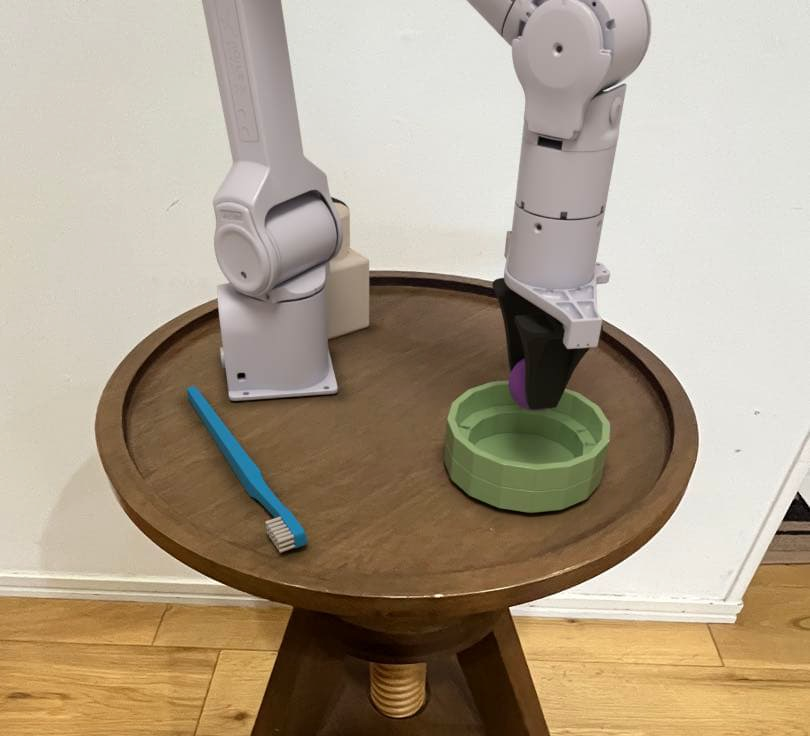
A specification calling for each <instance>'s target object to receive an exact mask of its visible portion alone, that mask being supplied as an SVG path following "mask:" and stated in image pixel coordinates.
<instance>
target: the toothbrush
mask: <svg viewBox="0 0 810 736" xmlns="http://www.w3.org/2000/svg"><path fill="white" fill-rule="evenodd" d="M186 393H187V394H186V395H187V398H188V401H189V402H190V404H191V405H192V407H193V409H194V410H195V412H196V413H197V415H198V417H199V418H200V421H202V423H203V425H204V426H205V428H206V429H207V431H208V433H209V434H210V436H211V437H212V439H213V441H214V442H215V444H216V446H217V447H218V449H219V451H220V452H221V453H222V455H223V456H224V458H225V460H226V461H227V463H228V465H229V466H230V468H231V469H232V471H233V473H234V474H235V476H236V477H237V479H238V480H239V482H240V483H241V485H242V488H244V490H245V492H246V493H247V494H248V496H249V497H250V498H252V499H255V500H256V501H258V502H259V503H260V504H261V505H262V506H263V507H264V508H265V509H266V510H267V512H269V513H270V515H271V516H272V517H273V518H272V519H268V520H265V521H264V524H265V530H266V531H265V532H266V534H267V536H268V537H269V539H270V540H271V542H272V543H273V545H274V547H275V548H276V549H277V550H278V553H279V554H281V553H284V552H287V551H289V550H292V549H294V548H295V549H298V548H301V547H305V546H306V545H307V544H308V540H307V539H308V538H307V533H306V531H305V529H304V528H303V526H302V525H301V523H300V522H299V520H298V519H297V518H296V516H295V515H294V514H293V513H292V512H291V510H290V509H288V508H287V507H286V506H285V505H284V504H283V503H282V502H281V501H280V499H279V498H278V497H277V496H276V495H275V494H274V492H273V491H272V490H271V488H270V487H269V485H268V484H267V483H266V480H264V478H263V473H262V471H261V469H260V468H259V466H258V465H256V463H255V462H254V461H253V460H252V458H251V457H250V456H249V455H248V453H247V452H246V451H245V449H244V448H243V447H242V446H241V444H240V443H239V442H238V440H237V438H235V436H234V435H233V434H232V432H231V431H230V430H229V429H228V427H227V426H226V424H225V423H224V422H223V421H222V419H221V418H220V417H219V415H218V413H216V411H215V410H214V408H213V407H212V406H211V405H210V403H209V402H208V401H207V399H206V398H205V397H204V395H203V394H202V393H201V391H200V390H199V389H198V388H197V386H196V385H193V386H188V387H186Z"/></svg>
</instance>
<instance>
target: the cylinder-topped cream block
mask: <svg viewBox="0 0 810 736" xmlns="http://www.w3.org/2000/svg"><path fill="white" fill-rule="evenodd" d="M331 199H332V201H333V204H334V205H335V207H336V209H337V211H338V213H339V216H340V219H341V223H342V227H343V242H342V246H341V249H340V251H339V253H338V254H337V255H336V257H335V258H334V259H332V260H331V261H330V274H329V275H328V276H327V277H326V306H327V335H328V341H329V340H331V339H335V338H338V337H341V336H344V335H347V334H351V333H353V332H357V331H360V330H364V329H366V328H369V326H370V260H369V258H367V257H366V256H365V255H362V254H361V253H359V252H357V251H356V250H354V249H352V248H351V222H350V221H351V220H350V217H351V216H350V214H351V213H350V212H351V211H350V208H349V206H348V205H347V204H346V203H345V201H342V200H341V199H338V198H337V197H333V196H331Z"/></svg>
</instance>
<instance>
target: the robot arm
mask: <svg viewBox="0 0 810 736" xmlns="http://www.w3.org/2000/svg"><path fill="white" fill-rule="evenodd" d="M466 2H467V3H468V4H469V5H470V6H471V7H472V8H473V9H474V10H475V11H476V12H477V13H478V14H479V15H480V16H481V17H482V18H483V20H485V21H486V22H487V23H488V25H489V26H491V28H493V30H494V31H495V32H496V33H497V34H498V35H499V36H500V37H501V38H502V39H503V40H504V41H505V42H506V43H507V44H508V45H509V46H510V47H511V58H512V64H513V68H514V72H515V75H516V77H517V79H518V82H519V84H520V86H521V88H522V90H523V93H524V101H525V102H524V111H523V113H524V114H523V126H522V135H521V146H520V155H519V164H518V171H517V181H516V182H517V183H516V192H515V198H514V199H515V200H514V208H513V216H512V217H513V218H512V226H511V230H507V231H506V237H505V246H504V253H503V255H504V258H505V264H504V270H503V271H504V272H503V277H499V278H496V279H494V280H493V281H492V283H491V287H492V289H493V291H494V294H495V296H496V299H497V300H498V301H497V302H498V305H499V308H500V311H501V315H502V319H503V324H504V330H505V340H506V350H507V351H506V352H507V358H508V367H509V373H511V371H512V369H513V368H514V367H515V365H516V364H517V363H518V362H520V361H521V360H522V359H524V358H525V393H526V400H527V405H528V406H529V408H530V409H545V408H556V407H557V405H558V403H559V401H560V399H561V397H562V395H563V393H564V391H565V388H566V389H567V386H568V384H569V382H570V380H571V378H572V376H573V374H574V372H575V370H576V369H577V366H578V365H579V363H580V362H581V360H582V359H583V358H584V357H585V356H586V354H587V353H588V351H590V349H591V348H598V346H599V340H601V338H602V334H603V332H604V331H603V329H604V325H603V317H602V316H601V315H600V313H599V311H598V302H597V301H598V300H597V298H598V295H597V290H598V289H597V287H598V286H597V285H604V284H607V283H609V282H610V277H611V272H610V270H609V269H608V268H607V267H606V266H605V265H604V263H602V262H597V258H598V253H599V247H600V241H601V236H602V230H603V225H604V219H605V214H606V213H605V212H606V208H607V202H608V196H609V192H610V185H611V181H612V174H613V169H614V163H615V158H616V152H617V146H618V141H619V135H620V126H621V119H622V114H623V108H624V104H625V98H626V91H627V83H622V82H624V81H625V80H626V79H627V78H629V77H630V76H631V75H632V74H633V73H634V72H635V71H636V70H637V69H638V68H639V66H640V65H641V63H642V62H643V60H644V59H645V57H646V54H647V52H648V49H649V46H650V42H651V37H652V16H651V12H650V8H649V5H648V3H647V0H466ZM201 3H202V9H203V15H204V19H205V24H206V29H207V35H208V41H209V45H210V50H211V55H212V61H213V66H214V71H215V76H216V82H217V86H218V92H219V97H220V102H221V106H222V113H223V118H224V123H225V128H226V133H227V138H228V139H227V140H228V143H229V149H230V154H231V159H232V160H231V161H232V165H231V167H230V169H229V171H228V173H227V175H226V176H225V178H224V179H223V181H222V183H221V184H220V186H219V187H218V189H217V191H216V193H215V194H214V196H213V199H212V205H213V211H214V216H215V230H214V236H213V249H214V255H215V258H216V262H217V264H218V267H219V269H220V270H221V273H222V274H223V276H224V278H225V279H226V280H227V281H228V282H227V283H221V284H217V285H216V296H217V308H218V318H219V327H220V335H221V344H222V346H221V347H219V350H220V351H219V352H220V361H221V367H222V369H225V375H226V382H227V390H228V399H229V400H230V401H232V402H239V401H240V402H241V401H254V400H255V401H257V400H268V399H280V398H294V397H295V398H296V397H297V398H298V397H305V396H306V397H308V396H309V397H310V396H321V395H323V396H324V395H334V394H337V393H338V392H339V390H338V389H339V386H338V383H337V379H336V375H335V371H334V365H333V362H332V358H331V353H330V350H329V340H328V335H327V306H326V277H327V276H328V275H329V274H330V261H331V260H332V259H334V258H335V257H336V255H337V254H338V253H339V251H340V249H341V246H342V242H343V227H342V223H341V219H340V216H339V213H338V211H337V209H336V207H335V205H334V204H333V201H332V199H331V197H332V196H331V193H330V188H329V182H328V181H329V180H328V175H327V174H326V173H325V172H324V171H323V170H322V169H321V168H320V167H318V166H317V165H316V164H314V163H313V162H312V161H311V160H309V159H308V158H307V157H306V156H305V155H304V148H303V141H302V140H303V139H302V134H301V127H300V120H299V114H298V106H297V99H296V93H295V87H294V80H293V72H292V66H291V58H290V51H289V44H288V39H287V31H286V24H285V17H284V9H283V3H282V0H201ZM621 83H622V84H621Z"/></svg>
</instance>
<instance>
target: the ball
mask: <svg viewBox="0 0 810 736" xmlns="http://www.w3.org/2000/svg"><path fill="white" fill-rule="evenodd" d="M508 380H509V384H508V385H509V391H510V394H511V396H512V398H513V400H514V401H515V402H516V403H517V404H518V405H519V406H521V407H522V408H524V409H527V410H531V411H539V410H544V409H530V408H529V406H528V405H527V400H526V393H525V358H524V359H522V360H521V361H520V362H518V363H517V364H516V365H515V367H514V368H513V369H512V371H511V372H510V374H509V376H508ZM545 409H546V408H545Z"/></svg>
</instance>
